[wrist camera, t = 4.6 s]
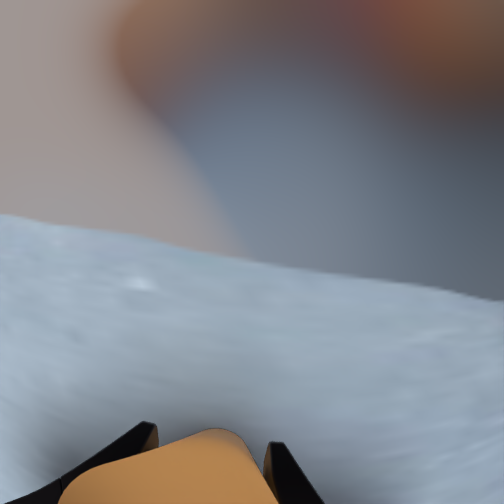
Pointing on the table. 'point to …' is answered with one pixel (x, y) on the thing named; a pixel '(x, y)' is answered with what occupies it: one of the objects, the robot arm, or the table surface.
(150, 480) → the orange pin
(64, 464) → the table surface
